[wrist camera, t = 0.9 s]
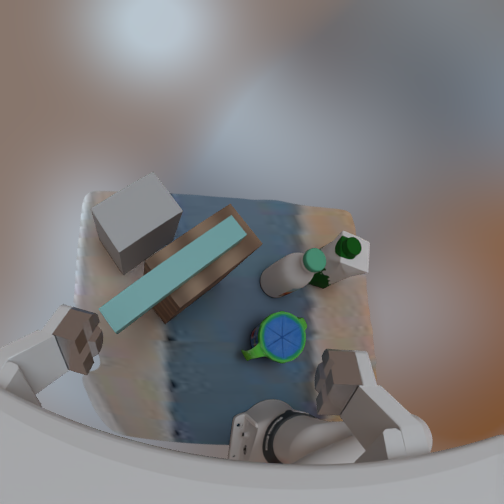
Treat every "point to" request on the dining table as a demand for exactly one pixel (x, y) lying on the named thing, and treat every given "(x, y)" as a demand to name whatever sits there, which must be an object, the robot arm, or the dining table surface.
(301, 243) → the dining table surface
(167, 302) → the walnut stand
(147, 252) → the base block
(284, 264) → the milk bottle
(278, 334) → the snack cup
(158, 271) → the batten
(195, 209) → the dining table surface
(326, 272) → the milk carton
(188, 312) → the dining table surface
